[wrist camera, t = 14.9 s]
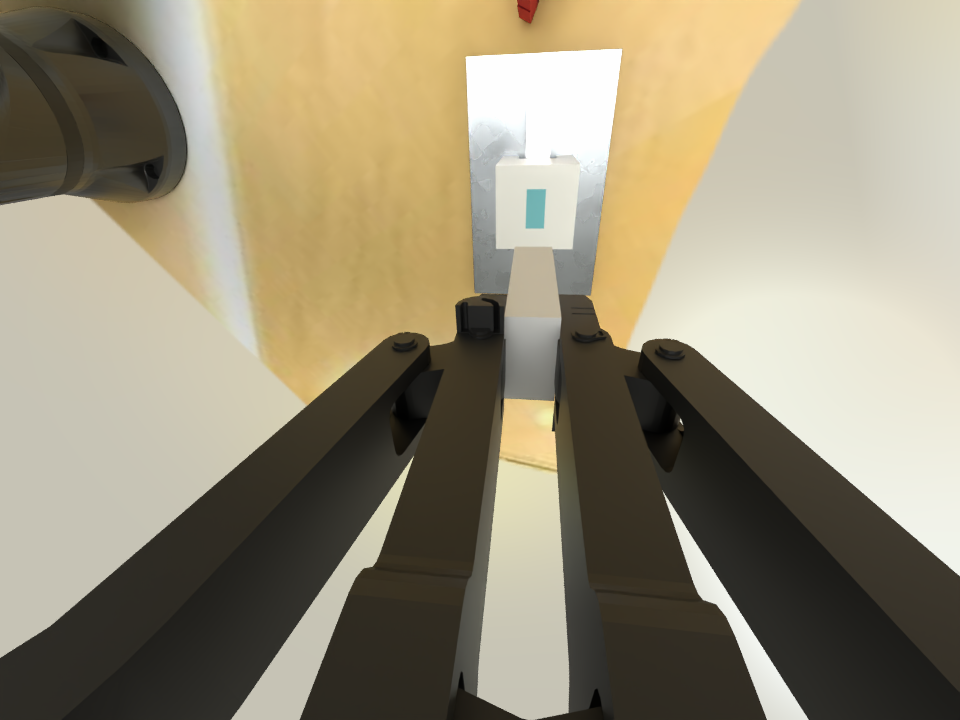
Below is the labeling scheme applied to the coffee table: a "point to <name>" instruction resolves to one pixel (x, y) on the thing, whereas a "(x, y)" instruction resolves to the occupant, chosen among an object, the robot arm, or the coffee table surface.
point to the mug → (527, 9)
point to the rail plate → (568, 139)
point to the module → (536, 201)
